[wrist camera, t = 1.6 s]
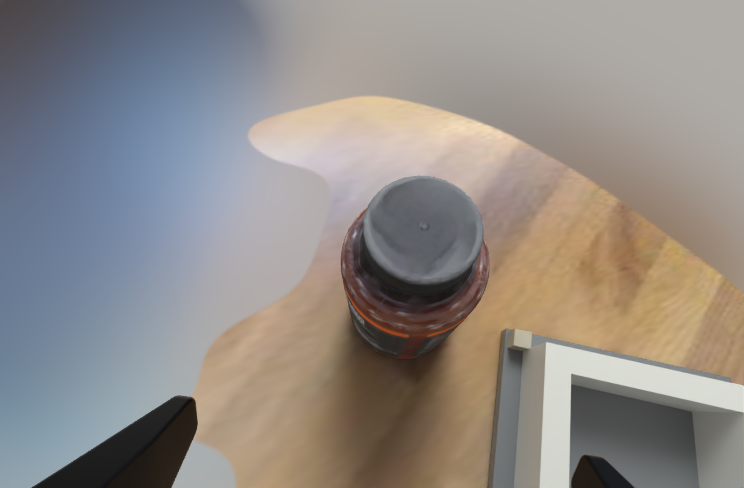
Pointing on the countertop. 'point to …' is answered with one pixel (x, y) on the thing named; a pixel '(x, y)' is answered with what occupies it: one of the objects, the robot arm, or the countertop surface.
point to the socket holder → (611, 418)
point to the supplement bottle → (414, 266)
